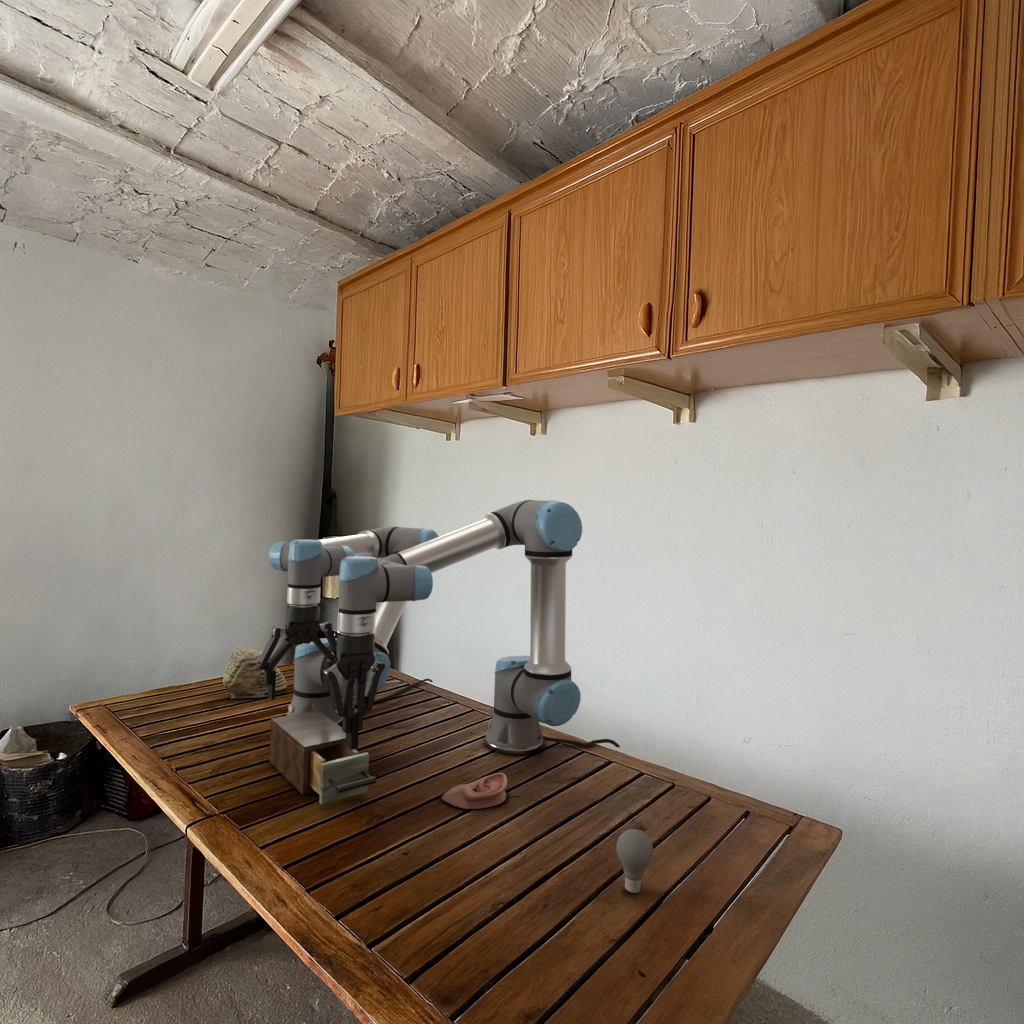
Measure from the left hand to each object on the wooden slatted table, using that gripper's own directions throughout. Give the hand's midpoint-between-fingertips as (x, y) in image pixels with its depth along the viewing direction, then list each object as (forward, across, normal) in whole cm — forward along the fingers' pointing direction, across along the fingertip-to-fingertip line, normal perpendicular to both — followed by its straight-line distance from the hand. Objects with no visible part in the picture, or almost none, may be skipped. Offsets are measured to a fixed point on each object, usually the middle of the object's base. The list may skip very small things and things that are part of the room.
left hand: (300, 693), depth 151 cm
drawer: (+15, 0, -19) cm, 24 cm away
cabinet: (+16, 0, -7) cm, 18 cm away
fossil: (+16, +7, +55) cm, 57 cm away
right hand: (+4, 0, -28) cm, 28 cm away
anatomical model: (+16, +24, -40) cm, 49 cm away
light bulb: (+16, +26, -81) cm, 86 cm away
